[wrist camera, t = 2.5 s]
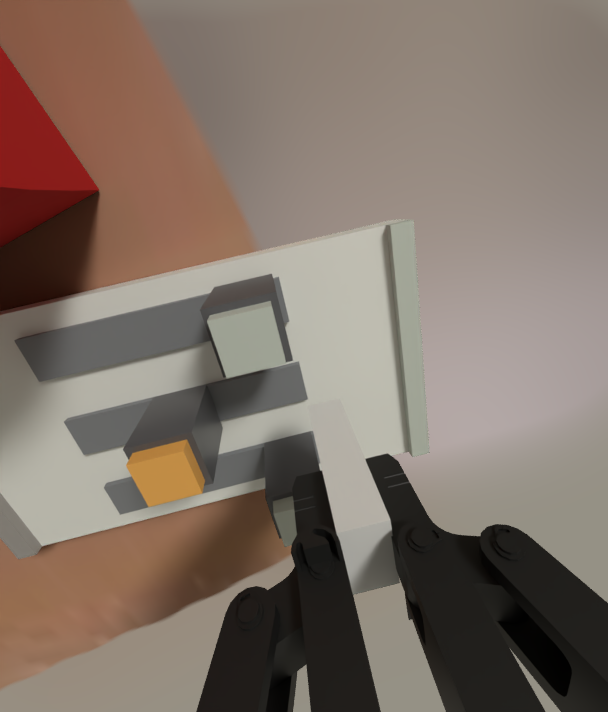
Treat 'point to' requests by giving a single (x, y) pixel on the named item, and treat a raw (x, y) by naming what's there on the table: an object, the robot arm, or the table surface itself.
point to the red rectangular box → (33, 161)
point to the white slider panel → (209, 378)
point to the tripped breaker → (175, 446)
